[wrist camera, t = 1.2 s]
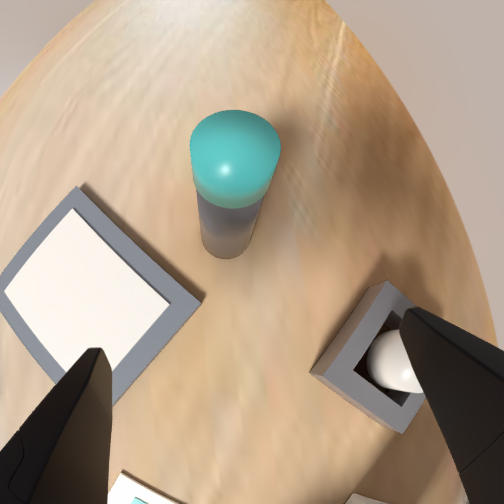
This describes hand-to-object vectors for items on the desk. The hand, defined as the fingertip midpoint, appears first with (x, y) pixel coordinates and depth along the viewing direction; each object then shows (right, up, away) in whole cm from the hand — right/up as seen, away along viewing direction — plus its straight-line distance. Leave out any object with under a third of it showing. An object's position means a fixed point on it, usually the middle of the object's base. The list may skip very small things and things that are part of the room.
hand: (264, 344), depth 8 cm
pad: (-13, -1, +13) cm, 18 cm away
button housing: (+9, -6, +14) cm, 17 cm away
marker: (-2, +4, +15) cm, 16 cm away
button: (+10, -5, +12) cm, 16 cm away
